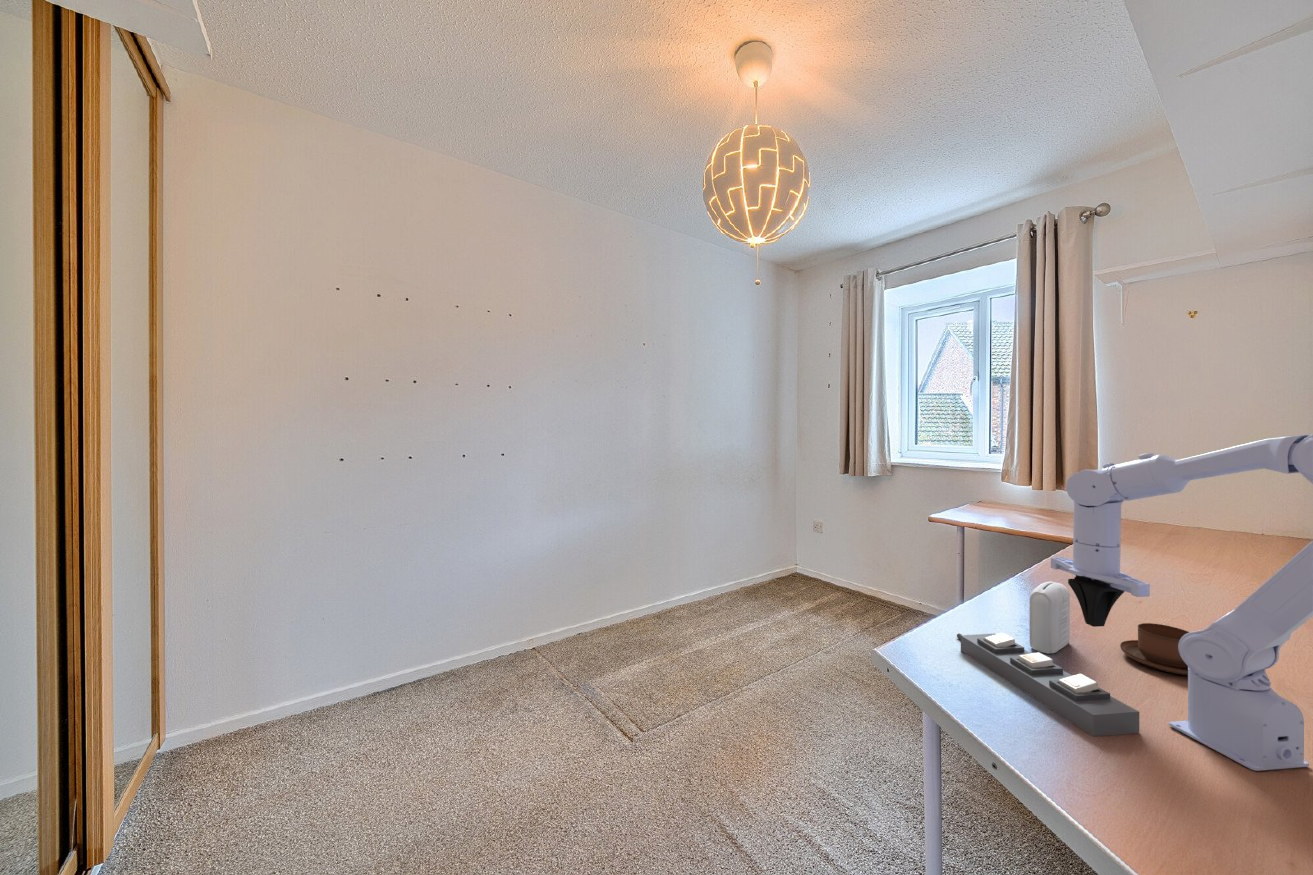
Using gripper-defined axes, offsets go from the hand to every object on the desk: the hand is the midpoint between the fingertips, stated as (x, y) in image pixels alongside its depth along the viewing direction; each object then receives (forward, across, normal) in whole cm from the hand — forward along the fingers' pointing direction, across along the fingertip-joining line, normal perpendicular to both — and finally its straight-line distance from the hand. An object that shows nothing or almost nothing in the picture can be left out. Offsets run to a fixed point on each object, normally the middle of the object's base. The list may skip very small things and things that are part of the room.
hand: (1094, 624), depth 79 cm
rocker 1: (+7, -9, -9) cm, 14 cm away
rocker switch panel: (+11, -4, -9) cm, 14 cm away
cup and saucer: (+11, -5, +20) cm, 23 cm away
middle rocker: (+7, -2, -9) cm, 11 cm away
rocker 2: (+6, +6, -9) cm, 13 cm away
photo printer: (+11, -14, +6) cm, 19 cm away
